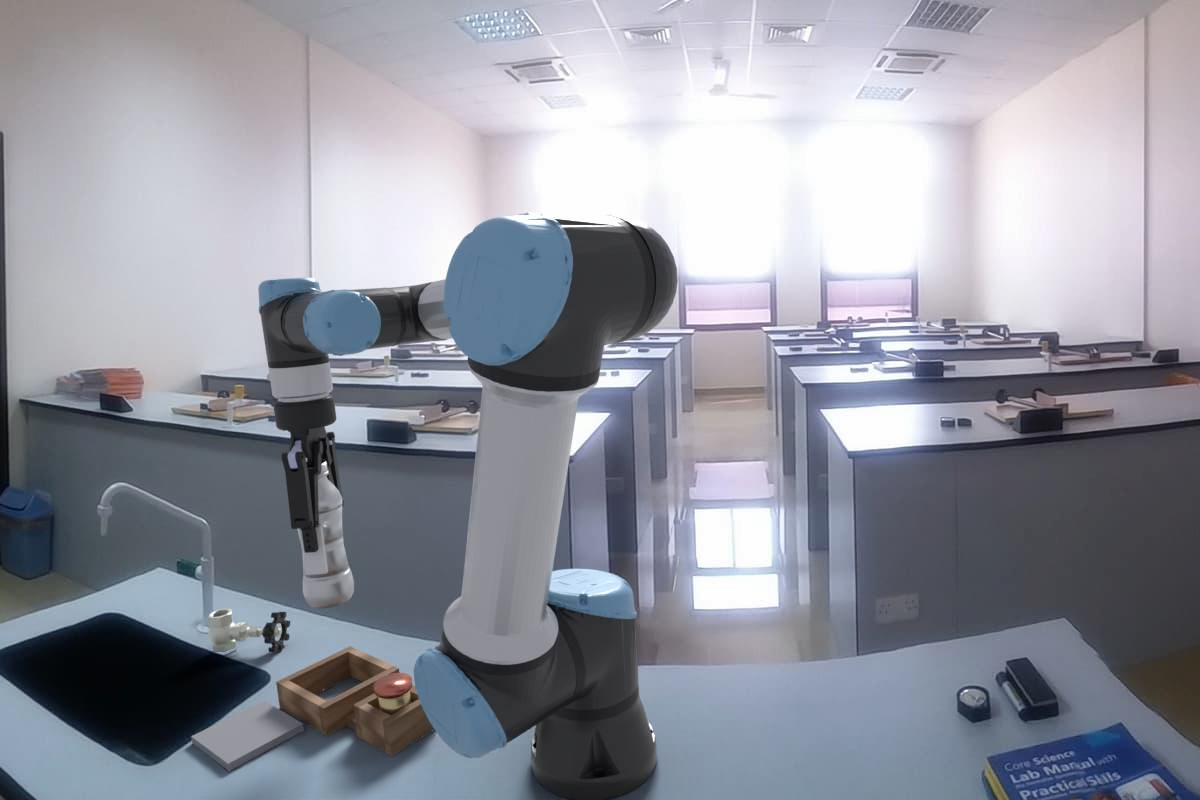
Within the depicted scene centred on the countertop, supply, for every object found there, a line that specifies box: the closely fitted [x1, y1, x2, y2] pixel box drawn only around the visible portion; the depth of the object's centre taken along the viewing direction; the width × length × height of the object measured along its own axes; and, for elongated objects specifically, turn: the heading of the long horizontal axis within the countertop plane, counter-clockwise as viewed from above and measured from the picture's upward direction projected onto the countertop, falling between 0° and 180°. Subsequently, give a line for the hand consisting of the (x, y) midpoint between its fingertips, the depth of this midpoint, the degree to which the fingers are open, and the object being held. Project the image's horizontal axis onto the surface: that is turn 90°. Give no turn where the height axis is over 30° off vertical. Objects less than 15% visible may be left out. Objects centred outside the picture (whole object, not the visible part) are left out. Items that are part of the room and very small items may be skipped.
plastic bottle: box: [296, 460, 355, 609], centre depth 104 cm, size 6×7×20 cm
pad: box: [190, 700, 305, 772], centre depth 101 cm, size 10×10×1 cm
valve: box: [208, 608, 291, 653], centre depth 125 cm, size 7×7×12 cm
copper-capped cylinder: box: [374, 672, 413, 715], centre depth 100 cm, size 5×5×7 cm
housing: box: [275, 646, 435, 757], centre depth 105 cm, size 23×12×4 cm, turn 52°
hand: (325, 563), depth 105 cm, fingers closed on plastic bottle, 6 cm apart
